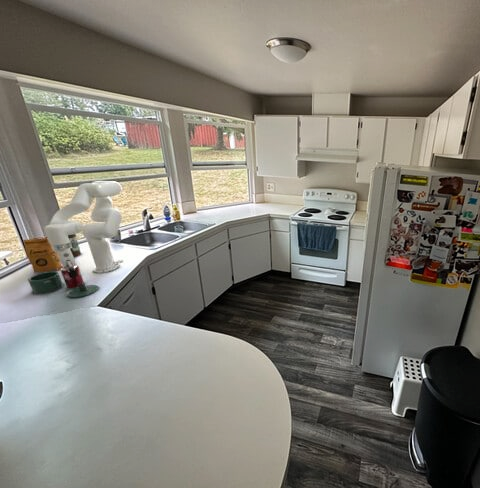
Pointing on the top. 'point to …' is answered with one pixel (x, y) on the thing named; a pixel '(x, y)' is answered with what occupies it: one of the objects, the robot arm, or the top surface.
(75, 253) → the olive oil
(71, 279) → the soda can
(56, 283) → the pot
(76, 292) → the lid
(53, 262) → the coffee package
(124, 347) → the top surface
